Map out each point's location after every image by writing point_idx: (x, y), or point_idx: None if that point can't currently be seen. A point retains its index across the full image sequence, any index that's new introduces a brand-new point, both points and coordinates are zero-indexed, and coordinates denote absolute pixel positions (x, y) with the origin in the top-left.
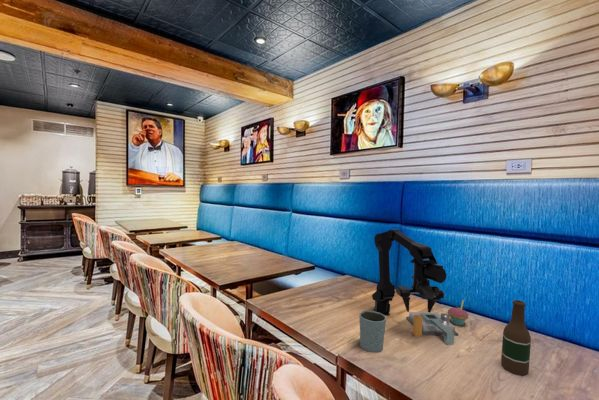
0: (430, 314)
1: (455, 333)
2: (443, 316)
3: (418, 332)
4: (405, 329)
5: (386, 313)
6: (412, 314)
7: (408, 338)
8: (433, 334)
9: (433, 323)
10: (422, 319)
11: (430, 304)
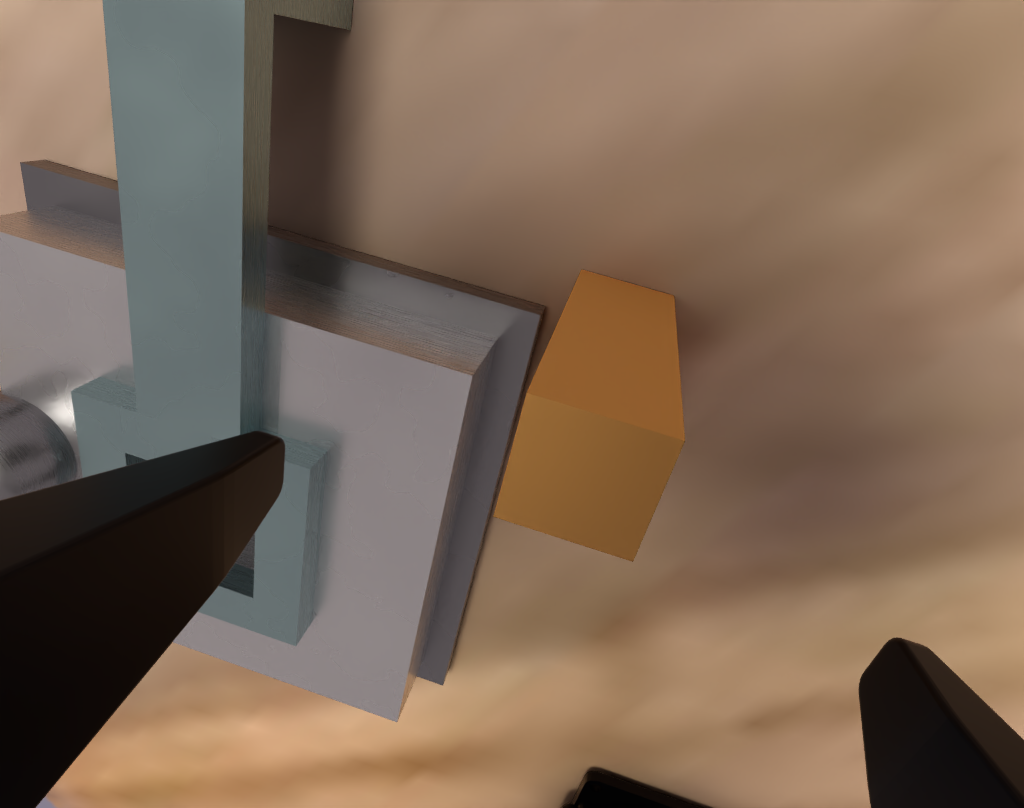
0: None
1: (53, 181)
2: (8, 458)
3: (629, 301)
4: (666, 486)
5: (621, 800)
6: (400, 669)
7: (855, 263)
8: (373, 259)
9: (259, 385)
10: (538, 373)
11: (52, 596)
